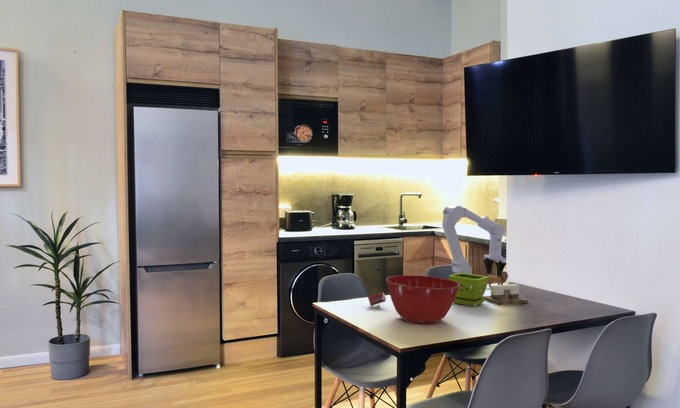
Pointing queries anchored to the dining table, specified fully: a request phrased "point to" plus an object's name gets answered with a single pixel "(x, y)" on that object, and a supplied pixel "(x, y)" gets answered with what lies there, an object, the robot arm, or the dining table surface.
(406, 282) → the mixing bowl
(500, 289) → the cream bar
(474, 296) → the flower pot
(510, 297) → the brown rectangular board
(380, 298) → the geometric puzzle
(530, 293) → the dining table surface
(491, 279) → the lion figurine
